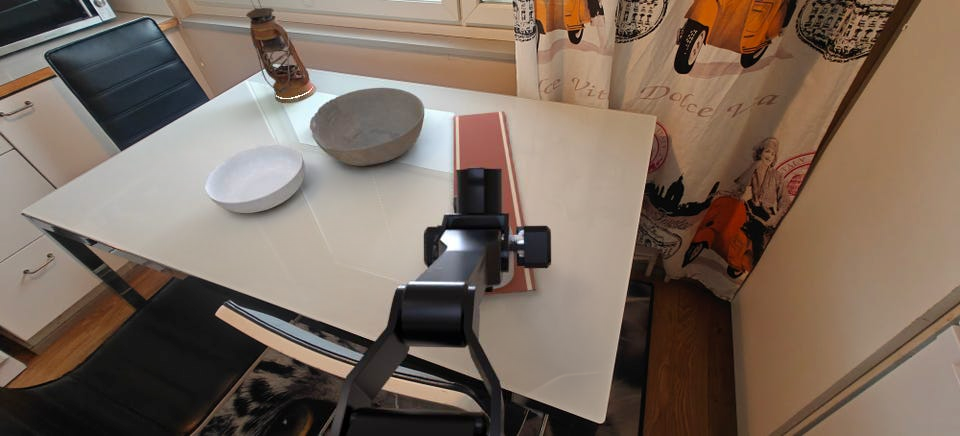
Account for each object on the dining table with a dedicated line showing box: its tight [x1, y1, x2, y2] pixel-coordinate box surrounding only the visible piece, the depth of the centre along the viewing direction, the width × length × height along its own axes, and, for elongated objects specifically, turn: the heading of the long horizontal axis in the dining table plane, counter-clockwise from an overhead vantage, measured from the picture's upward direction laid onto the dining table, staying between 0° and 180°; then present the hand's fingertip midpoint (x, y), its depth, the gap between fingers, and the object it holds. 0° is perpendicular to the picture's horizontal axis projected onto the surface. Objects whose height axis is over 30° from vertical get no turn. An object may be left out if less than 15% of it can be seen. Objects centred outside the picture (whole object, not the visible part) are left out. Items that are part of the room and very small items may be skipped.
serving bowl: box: [204, 143, 306, 214], centre depth 92 cm, size 21×21×7 cm
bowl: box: [309, 87, 425, 167], centre depth 102 cm, size 28×28×10 cm
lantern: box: [245, 0, 317, 104], centre depth 121 cm, size 17×13×30 cm
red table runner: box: [453, 111, 537, 296], centre depth 91 cm, size 60×14×1 cm, turn 3°
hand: (491, 244), depth 69 cm, fingers closed on can, 7 cm apart
